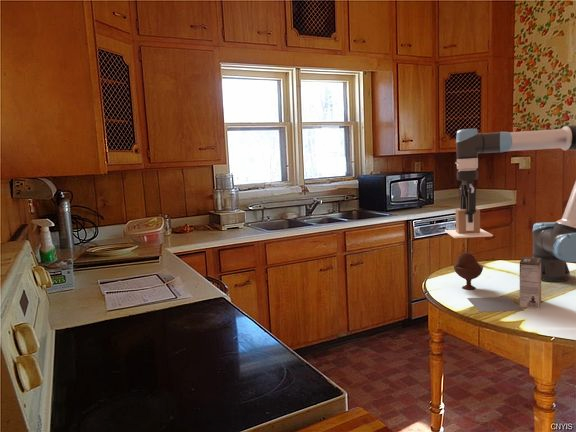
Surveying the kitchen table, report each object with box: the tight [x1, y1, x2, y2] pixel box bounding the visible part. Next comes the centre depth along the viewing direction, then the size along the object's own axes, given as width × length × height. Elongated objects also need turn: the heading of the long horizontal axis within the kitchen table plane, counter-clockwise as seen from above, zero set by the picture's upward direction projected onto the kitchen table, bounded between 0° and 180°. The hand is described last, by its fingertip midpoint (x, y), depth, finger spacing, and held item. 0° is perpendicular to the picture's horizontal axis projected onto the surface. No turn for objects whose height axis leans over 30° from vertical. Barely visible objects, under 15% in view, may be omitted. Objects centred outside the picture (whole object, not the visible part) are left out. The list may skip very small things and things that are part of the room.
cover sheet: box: [444, 208, 494, 239], centre depth 170 cm, size 14×14×10 cm
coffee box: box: [519, 256, 542, 310], centre depth 152 cm, size 9×6×16 cm
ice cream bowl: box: [453, 252, 484, 291], centre depth 173 cm, size 11×11×15 cm
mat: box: [466, 296, 525, 313], centre depth 155 cm, size 14×14×1 cm
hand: (467, 229), depth 170 cm, fingers closed on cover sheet, 4 cm apart
